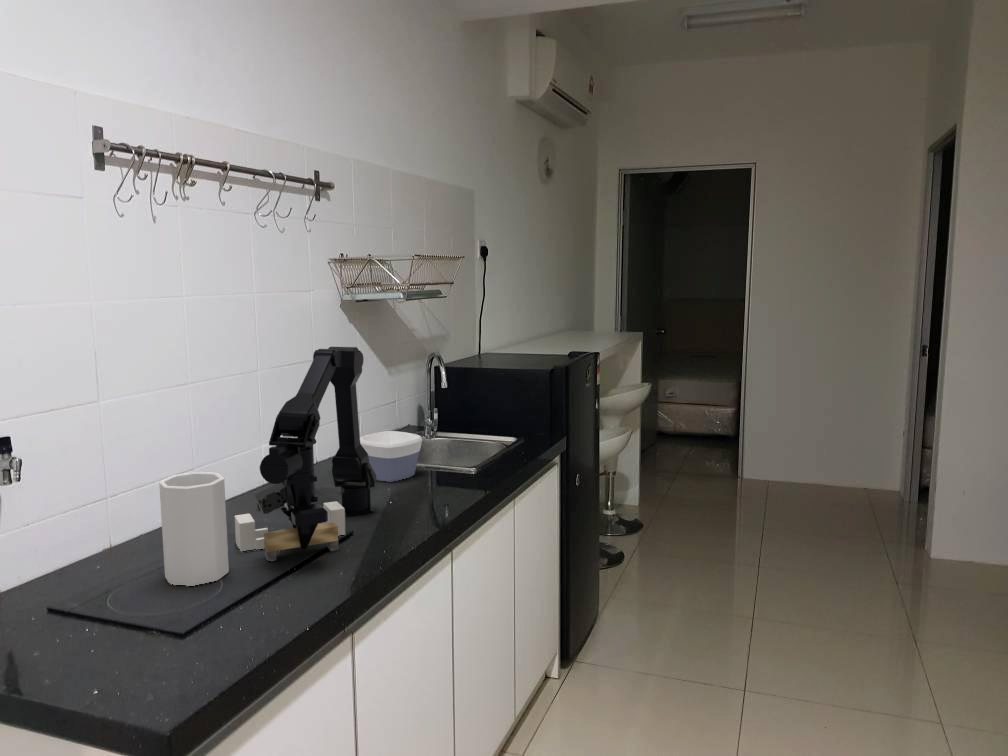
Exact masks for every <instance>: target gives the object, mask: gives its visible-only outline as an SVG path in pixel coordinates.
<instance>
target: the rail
mask: <svg viewBox="0 0 1008 756" xmlns="http://www.w3.org/2000/svg"><path fill="white" fill-rule="evenodd" d="M264 544H265V549H264V558H265V557H266V558H265V559H266V561H267V560H268V561H271V560H276V561H277V552H278V551H283V550H289V549H296V548H301V546H300V542H299V537H298V532H297V528H293V527H292V528H287V529H278V530H275V531H268V532H266V533H264ZM318 544H319V545H320V544H326V548H328V550H329V551H330V552H334V551H335V552H336V551H339V549H340V548H339V537H338V526H337V525H336V524H335V523H334V522H331V523H325V524H318V525H317V527H316V529H315V531H314V533H313V535H312V538H311V540H310V542H309V545H308V546H312V545H318ZM268 561H267V562H268ZM271 562H272V561H271Z"/></svg>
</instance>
